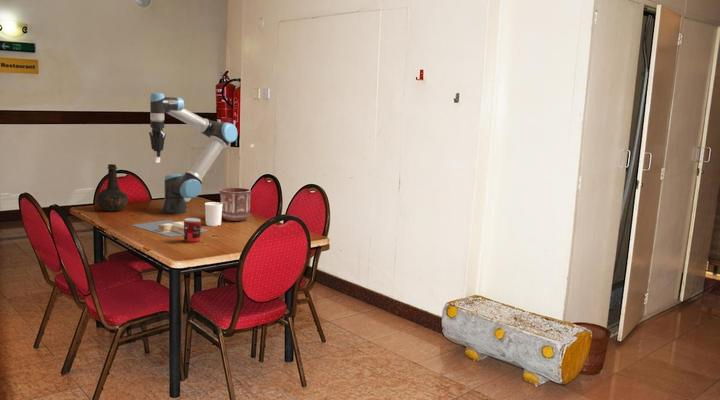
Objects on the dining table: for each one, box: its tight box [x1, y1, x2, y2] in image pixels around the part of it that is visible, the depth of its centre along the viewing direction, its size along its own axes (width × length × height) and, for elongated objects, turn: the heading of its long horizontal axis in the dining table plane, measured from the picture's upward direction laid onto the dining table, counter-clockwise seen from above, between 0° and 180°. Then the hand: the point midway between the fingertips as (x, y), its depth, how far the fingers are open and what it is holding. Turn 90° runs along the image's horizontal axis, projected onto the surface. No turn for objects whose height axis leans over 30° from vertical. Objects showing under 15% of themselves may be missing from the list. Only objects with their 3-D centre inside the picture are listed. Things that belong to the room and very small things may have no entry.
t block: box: [158, 220, 184, 233], centre depth 324 cm, size 16×15×3 cm
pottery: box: [219, 187, 252, 223], centre depth 359 cm, size 18×18×18 cm
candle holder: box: [204, 201, 223, 227], centre depth 343 cm, size 10×10×12 cm
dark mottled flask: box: [96, 163, 129, 213], centre depth 367 cm, size 18×18×28 cm
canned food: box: [183, 217, 202, 244], centre depth 303 cm, size 8×8×11 cm
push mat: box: [130, 219, 210, 238], centre depth 329 cm, size 24×36×1 cm, turn 52°
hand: (157, 162), depth 348 cm, fingers closed
